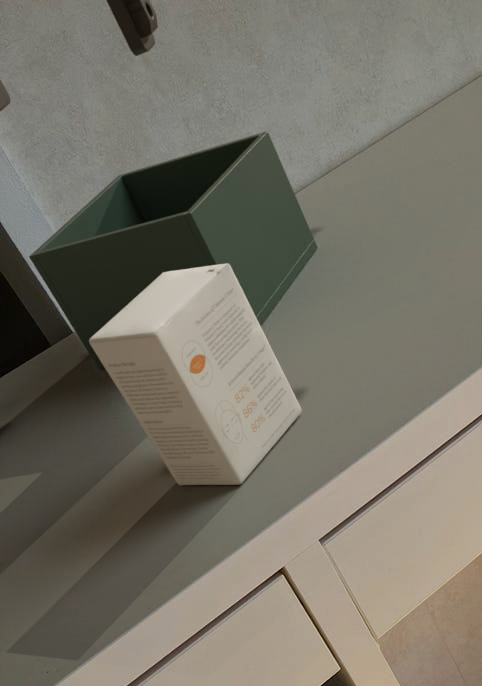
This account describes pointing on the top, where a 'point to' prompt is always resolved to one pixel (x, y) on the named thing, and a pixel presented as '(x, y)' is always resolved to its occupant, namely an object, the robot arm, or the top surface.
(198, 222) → the bin
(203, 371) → the small box
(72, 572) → the top surface
